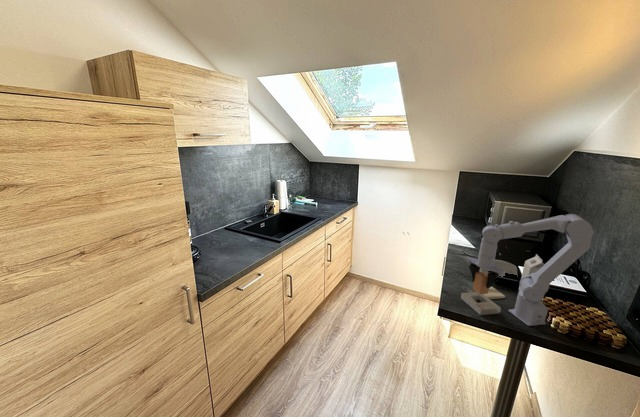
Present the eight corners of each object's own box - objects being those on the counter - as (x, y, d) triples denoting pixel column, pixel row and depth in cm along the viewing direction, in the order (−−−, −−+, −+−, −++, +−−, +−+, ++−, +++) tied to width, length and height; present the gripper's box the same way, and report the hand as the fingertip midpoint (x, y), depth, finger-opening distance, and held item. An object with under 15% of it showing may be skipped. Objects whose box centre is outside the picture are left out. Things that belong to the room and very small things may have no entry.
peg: (487, 293, 111) (491, 276, 109) (479, 294, 110) (482, 277, 108) (480, 288, 115) (484, 271, 113) (472, 289, 114) (475, 272, 112)
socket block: (499, 313, 108) (501, 307, 107) (480, 315, 107) (481, 309, 106) (478, 296, 120) (479, 291, 119) (460, 297, 118) (461, 293, 118)
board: (504, 297, 119) (505, 295, 118) (486, 299, 117) (487, 297, 117) (489, 287, 127) (490, 285, 127) (472, 288, 126) (473, 286, 126)
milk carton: (536, 292, 123) (546, 255, 118) (542, 301, 117) (552, 262, 112) (518, 289, 126) (526, 252, 121) (523, 297, 119) (532, 259, 114)
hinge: (479, 276, 137) (481, 257, 138) (478, 275, 142) (480, 256, 142) (518, 284, 130) (520, 264, 131) (515, 282, 135) (518, 263, 135)
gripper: (511, 259, 104) (505, 289, 108) (475, 246, 116) (470, 274, 120) (502, 263, 101) (495, 294, 104) (465, 249, 113) (460, 278, 116)
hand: (481, 284), depth 112 cm, fingers closed on peg, 5 cm apart
